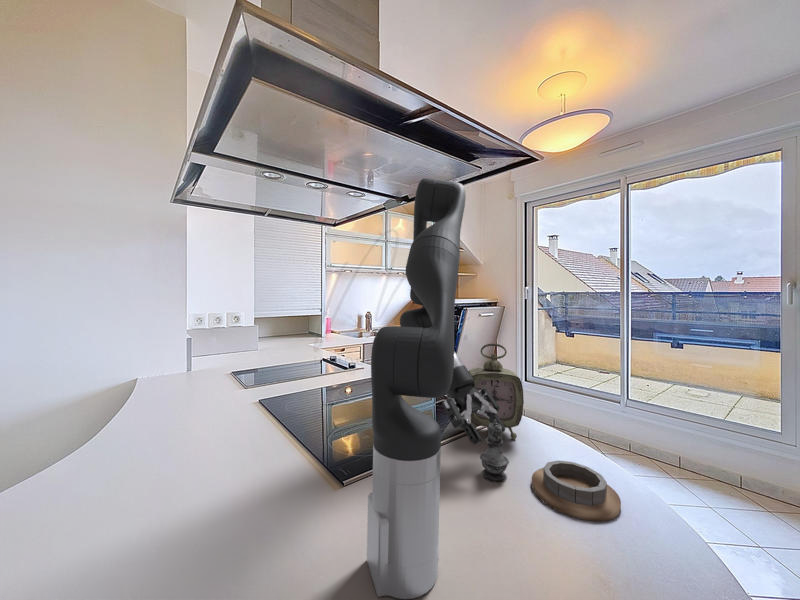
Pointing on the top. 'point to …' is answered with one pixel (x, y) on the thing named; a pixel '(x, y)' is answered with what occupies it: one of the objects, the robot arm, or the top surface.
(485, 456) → the grey tall piece
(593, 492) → the socket stand
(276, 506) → the top surface
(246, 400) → the top surface
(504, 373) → the tabletop clock
